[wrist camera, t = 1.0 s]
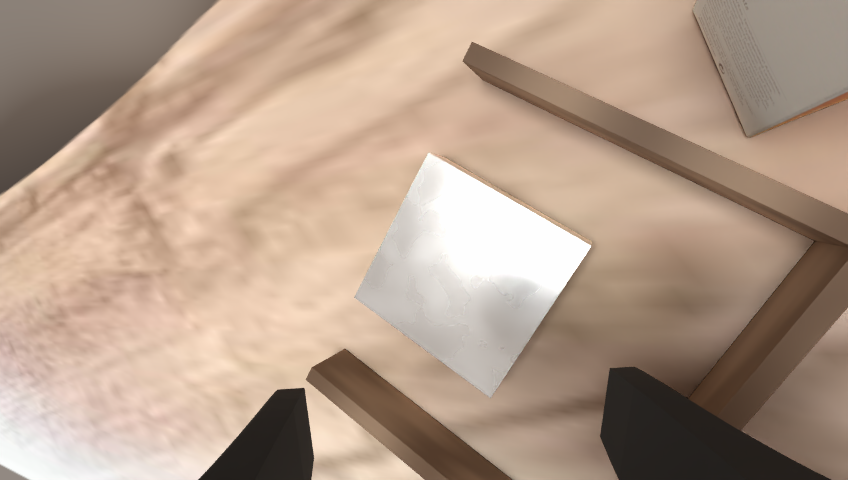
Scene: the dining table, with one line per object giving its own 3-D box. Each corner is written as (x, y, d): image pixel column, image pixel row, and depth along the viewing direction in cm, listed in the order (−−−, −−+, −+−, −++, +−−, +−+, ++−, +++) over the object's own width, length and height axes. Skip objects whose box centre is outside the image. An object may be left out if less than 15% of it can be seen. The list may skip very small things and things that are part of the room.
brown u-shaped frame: (854, 233, 16) (905, 240, 13) (586, 556, 20) (582, 612, 18) (490, 63, 20) (471, 41, 18) (339, 359, 25) (305, 379, 22)
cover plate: (592, 240, 20) (591, 246, 17) (502, 377, 22) (490, 398, 20) (446, 157, 22) (428, 152, 20) (378, 288, 24) (354, 297, 22)
